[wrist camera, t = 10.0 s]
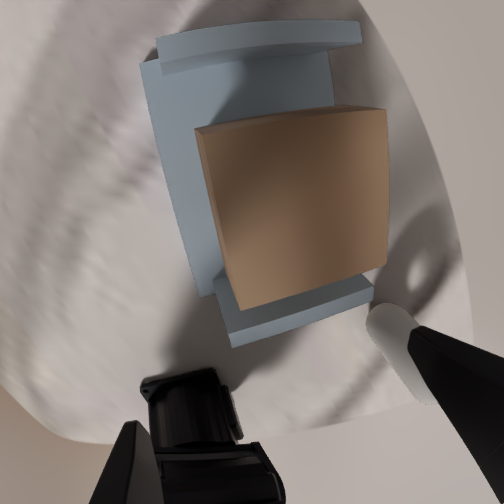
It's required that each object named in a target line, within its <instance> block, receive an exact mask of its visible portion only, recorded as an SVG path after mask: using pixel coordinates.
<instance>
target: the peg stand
mask: <svg viewBox="0 0 504 504" xmlns="http://www.w3.org/2000/svg"><path fill="white" fill-rule="evenodd" d="M155 39H156V45H157V51H158V57H159V58H158V59H154V60H150V61H147V62H143V63H139V66H140V71H141V76H142V80H143V85H144V90H145V95H146V99H147V104H148V108H149V113H150V117H151V122H152V126H153V130H154V135H155V139H156V143H157V147H158V151H159V155H160V159H161V163H162V167H163V171H164V175H165V179H166V183H167V186H168V190H169V194H170V198H171V201H172V205H173V208H174V212H175V216H176V219H177V223H178V226H179V230H180V233H181V237H182V240H183V243H184V247H185V250H186V254H187V257H188V260H189V263H190V267H191V270H192V273H193V276H194V280H195V283H196V286H197V289H198V292H199V295H200V298H202V297H206V296H209V295H213V294H216V296H217V300H218V303H219V306H220V310H221V313H222V316H223V320H224V323H225V326H226V330H227V333H228V336H229V339H230V343H231V346H232V348H234V347H238V346H241V345H245V344H248V343H251V342H255V341H258V340H261V339H264V338H268V337H271V336H274V335H277V334H280V333H283V332H286V331H289V330H292V329H295V328H298V327H301V326H304V325H307V324H310V323H313V322H316V321H319V320H322V319H324V318H327V317H330V316H333V315H335V314H338V313H341V312H344V311H346V310H349V309H352V308H354V307H357V306H360V305H362V304H365V303H367V302H370V301H372V300H373V293H374V285H373V284H372V283H371V282H370V281H369V280H368V279H367V278H366V277H364V276H363V275H362V274H361V273H360V274H358V275H355V276H352V277H349V278H346V279H343V280H340V281H337V282H334V283H330V284H327V285H324V286H321V287H318V288H315V289H312V290H309V291H305V292H302V293H299V294H296V295H293V296H289V297H286V298H283V299H280V300H276V301H273V302H270V303H266V304H263V305H259V306H256V307H253V308H249V309H246V310H242V311H240V308H239V305H238V303H237V300H236V298H235V295H234V292H233V290H232V287H231V284H230V282H229V279H228V276H227V274H226V271H225V266H224V262H223V258H222V254H221V250H220V245H219V241H218V237H217V232H216V228H215V224H214V219H213V215H212V210H211V206H210V201H209V197H208V192H207V188H206V183H205V179H204V174H203V169H202V165H201V160H200V155H199V151H198V146H197V141H196V136H195V131H194V128H198V127H202V126H207V125H212V124H216V123H221V122H226V121H231V120H236V119H242V118H247V117H253V116H259V115H265V114H271V113H278V112H285V111H292V110H300V109H308V108H317V107H327V106H335V99H334V91H333V84H332V77H331V70H330V64H329V57H328V51H327V50H331V49H335V48H340V47H344V46H349V45H354V44H359V43H363V41H362V35H361V30H360V24H359V21H348V20H323V19H298V20H273V21H258V22H247V23H238V24H229V25H222V26H215V27H208V28H202V29H196V30H191V31H186V32H181V33H176V34H171V35H167V36H162V37H158V38H155Z"/></svg>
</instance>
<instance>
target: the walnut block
mask: <svg viewBox="0 0 504 504" xmlns="http://www.w3.org/2000/svg"><path fill="white" fill-rule="evenodd" d="M194 131H195V136H196V141H197V146H198V151H199V155H200V160H201V165H202V169H203V174H204V179H205V183H206V188H207V192H208V197H209V201H210V206H211V210H212V215H213V219H214V224H215V228H216V232H217V237H218V241H219V245H220V250H221V254H222V258H223V262H224V266H225V271H226V274H227V276H228V279H229V282H230V284H231V287H232V290H233V292H234V295H235V298H236V300H237V303H238V305H239V308H240V311H242V310H246V309H249V308H253V307H256V306H259V305H263V304H266V303H270V302H273V301H276V300H280V299H283V298H286V297H289V296H293V295H296V294H299V293H302V292H305V291H309V290H312V289H315V288H318V287H321V286H324V285H327V284H330V283H334V282H337V281H340V280H343V279H346V278H349V277H352V276H355V275H358V274H360V273H363V272H366V271H369V270H372V269H375V268H378V267H381V266H384V265H386V261H387V246H388V224H389V152H388V130H387V115H386V109H379V108H370V107H361V106H351V105H337V106H327V107H317V108H308V109H300V110H292V111H285V112H278V113H271V114H265V115H259V116H253V117H247V118H242V119H236V120H231V121H226V122H221V123H216V124H212V125H207V126H202V127H198V128H194Z"/></svg>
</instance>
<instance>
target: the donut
mask: <svg viewBox="0 0 504 504" xmlns="http://www.w3.org/2000/svg"><path fill="white" fill-rule="evenodd" d="M418 326H420V325H419V324H418V323H417V322H416V320H415V319H414V318H413V317H412V316H411V315H410V314H409V313H408V312H407V311H405V310H404V309H403V308H401V307H400V306H398V305H396V304H393V303H382V304H378V305H377V306H375V307H374V308H373V309H372V310H371V311H370V312H369V314H368V316H367V319H366V329H367V332H368V334H369V336H370V337H371V339H372V340H373V342H374V343H375V344H376V346H377V347H378V349H379V350H380V351H381V353H382V354H383V355H384V357H385V358H386V360H387V361H388V362H389V364H390V365H391V366H392V368H393V369H394V370H395V372H396V373H397V374H398V376H399V377H400V379H401V380H402V381H403V383H404V384H405V385H406V387H407V388H408V389H409V391H410V392H411V393H412V395H413V396H414V397H415V398H416V399H417V400H418V401H419V402H420V403H422V404H425V405H434V404H438V402H437V400H436V399H435V397H434V396H433V395H432V393H431V392H430V390H429V389H428V387H427V386H426V384H425V382H424V380H423V378H422V377H421V375H420V373H419V371H418V369H417V367H416V365H415V364H414V362H413V360H412V358H411V356H410V355H409V353H408V350H407V344H408V340H409V335H410V332H411V330H412V329H414V328H416V327H418Z"/></svg>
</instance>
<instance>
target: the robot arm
mask: <svg viewBox="0 0 504 504" xmlns="http://www.w3.org/2000/svg"><path fill="white" fill-rule="evenodd" d="M407 350H408V353H409V355H410V356H411V358H412V360H413V362H414V364H415V365H416V367H417V369H418V371H419V373H420V375H421V377H422V378H423V380H424V382H425V384H426V386H427V387H428V389H429V390H430V392H431V393H432V395H433V396H434V397H435V399H436V400H437V402H438V403H439V405H440V406H441V408H442V409H443V411H444V412H445V414H446V415H447V417H448V418H449V420H450V421H451V423H452V424H453V426H454V427H455V429H456V431H457V432H458V433H459V435H460V437H461V438H462V440H463V442H464V443H465V445H466V446H467V448H468V449H469V451H470V453H471V454H472V456H473V457H474V459H475V461H476V462H477V464H478V466H479V467H480V469H481V471H482V473H483V474H484V476H485V478H486V479H487V481H488V483H489V484H490V486H491V488H492V489H493V491H494V493H495V495H496V497H497V498H498V500H499V502H500V503H501V504H503V503H504V358H503V357H500V356H498V355H495V354H492V353H490V352H488V351H485V350H483V349H480V348H477V347H475V346H472V345H470V344H467V343H465V342H462V341H460V340H457V339H455V338H452V337H450V336H447V335H445V334H442V333H440V332H437V331H435V330H432V329H430V328H427V327H425V326H418V327H416V328H414V329H412V330H411V332H410V335H409V340H408V344H407ZM145 389H147V390H145ZM140 393H141V394H142V396H143V397H144V398H145V400H146V401H147V403H148V412H149V428H150V435H149V433H148V432H147V430H146V429H145V428H144V427H143V426H142V424H141V423H140V422H139V421H137V420H133V421H127V422H125V423H124V425H123V427H122V429H121V431H120V434H119V436H118V438H117V440H116V442H115V445H114V447H113V449H112V451H111V453H110V456H109V458H108V460H107V462H106V465H105V467H104V469H103V472H102V474H101V476H100V478H99V481H98V483H97V486H96V488H95V490H94V492H93V495H92V497H91V499H90V502H89V504H285V503H286V496H285V489H284V486H283V482H282V480H281V478H280V476H279V474H278V473H277V471H276V469H275V468H274V466H273V465H272V463H271V461H270V460H269V458H268V457H267V455H266V453H265V451H264V450H263V448H262V446H261V445H260V443H259V442H251V443H250V444H238V440H241V439H243V437H244V435H243V432H242V428H241V425H240V422H239V418H238V415H237V412H236V408H235V405H234V401H233V399H232V396H231V394H230V391H229V389H228V386H226V385H222V384H221V382H220V380H219V377H218V375H217V372H216V370H215V369H213V368H208V369H204V370H200V371H196V372H192V373H188V374H184V375H180V376H176V377H172V378H168V379H164V380H159V381H155V382H150V383H146V384H142V385H141V386H140Z"/></svg>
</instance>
